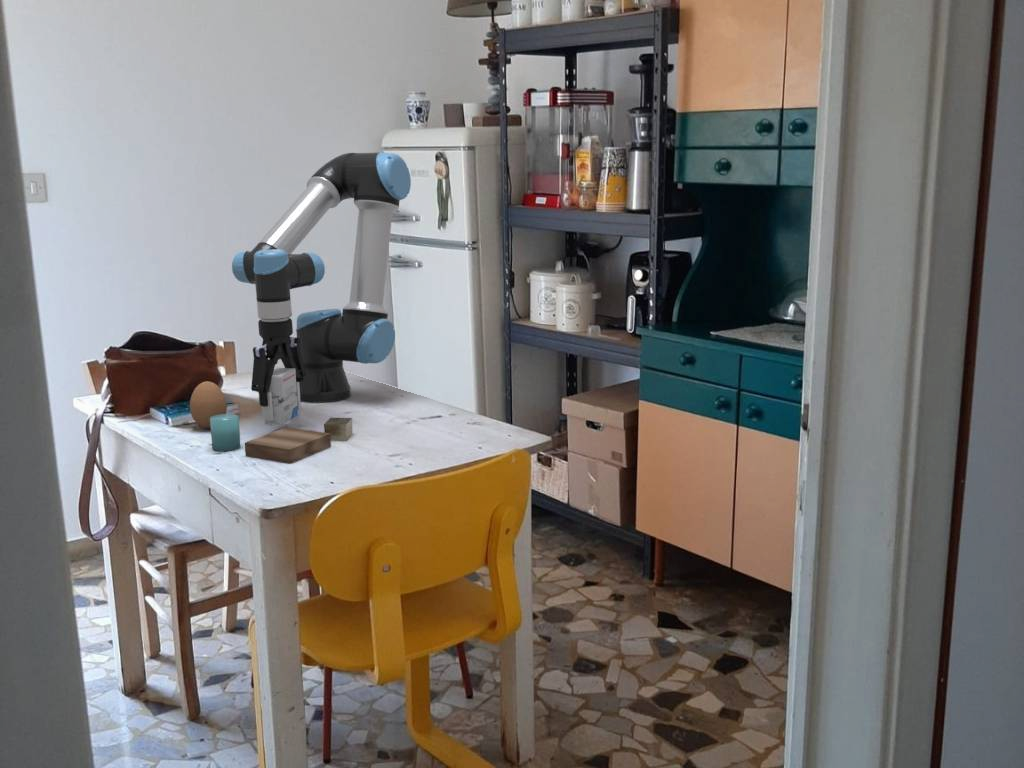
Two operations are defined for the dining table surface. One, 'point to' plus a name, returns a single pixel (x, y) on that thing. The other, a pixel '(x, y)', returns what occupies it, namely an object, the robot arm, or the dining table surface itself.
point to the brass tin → (339, 428)
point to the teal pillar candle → (225, 432)
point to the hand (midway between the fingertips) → (281, 413)
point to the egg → (207, 403)
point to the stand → (288, 445)
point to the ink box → (283, 396)
